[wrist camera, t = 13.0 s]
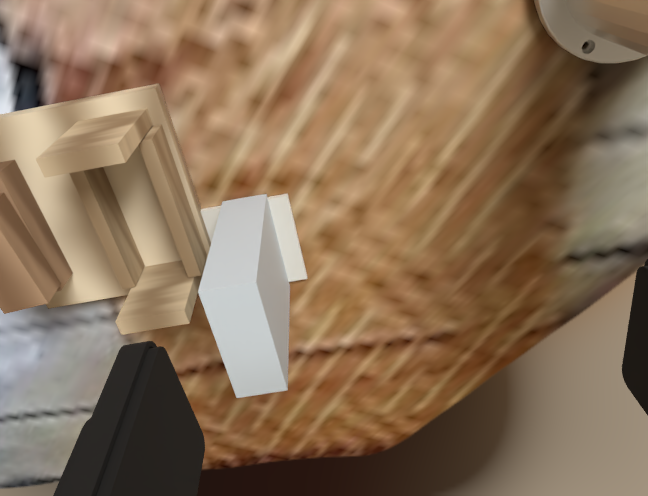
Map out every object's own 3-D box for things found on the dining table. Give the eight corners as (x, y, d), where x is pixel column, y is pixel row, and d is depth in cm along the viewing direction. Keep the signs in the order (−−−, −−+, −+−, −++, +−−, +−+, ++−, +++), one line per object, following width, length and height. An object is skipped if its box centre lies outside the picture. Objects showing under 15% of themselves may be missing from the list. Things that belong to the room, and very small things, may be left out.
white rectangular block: (266, 193, 42) (256, 282, 31) (289, 286, 46) (287, 390, 36) (222, 201, 42) (197, 291, 32) (250, 293, 46) (236, 398, 36)
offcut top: (4, 192, 37) (-14, 208, 35) (61, 283, 41) (48, 303, 39) (-42, 204, 37) (-63, 221, 35) (19, 293, 42) (4, 313, 39)
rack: (159, 83, 37) (127, 120, 30) (222, 270, 46) (208, 333, 39) (-45, 123, 38) (-122, 168, 31) (53, 300, 46) (10, 366, 39)
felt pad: (287, 193, 42) (287, 195, 42) (307, 276, 46) (307, 278, 46) (201, 209, 42) (200, 211, 42) (228, 289, 47) (227, 292, 46)
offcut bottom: (14, 159, 38) (-2, 173, 36) (72, 272, 44) (61, 290, 42) (-32, 168, 39) (-51, 182, 37) (32, 279, 44) (18, 298, 42)
